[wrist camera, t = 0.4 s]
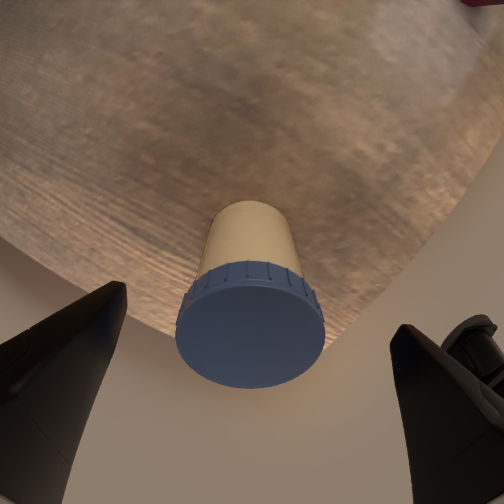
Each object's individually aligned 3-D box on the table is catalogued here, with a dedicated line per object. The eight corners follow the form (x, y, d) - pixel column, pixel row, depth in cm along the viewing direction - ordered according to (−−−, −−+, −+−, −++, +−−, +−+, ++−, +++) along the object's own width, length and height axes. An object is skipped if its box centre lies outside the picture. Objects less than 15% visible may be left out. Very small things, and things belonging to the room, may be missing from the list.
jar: (298, 205, 21) (332, 289, 12) (284, 278, 24) (301, 380, 15) (210, 196, 21) (180, 277, 12) (206, 271, 24) (186, 373, 15)
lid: (334, 265, 13) (345, 290, 12) (303, 365, 17) (307, 390, 15) (179, 252, 13) (169, 276, 11) (183, 357, 16) (178, 383, 14)
